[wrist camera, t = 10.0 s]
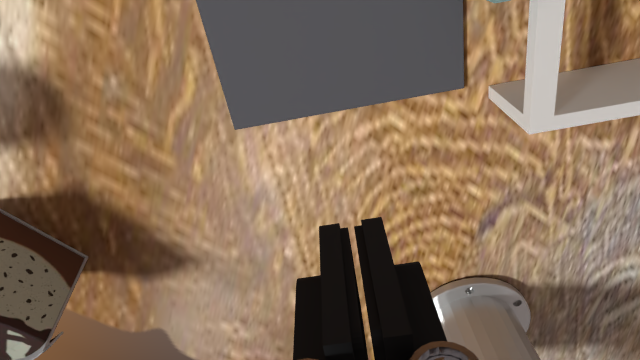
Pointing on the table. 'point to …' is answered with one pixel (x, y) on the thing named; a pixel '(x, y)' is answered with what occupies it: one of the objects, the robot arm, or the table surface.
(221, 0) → the mat
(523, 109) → the tunnel
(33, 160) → the table surface
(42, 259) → the food container
